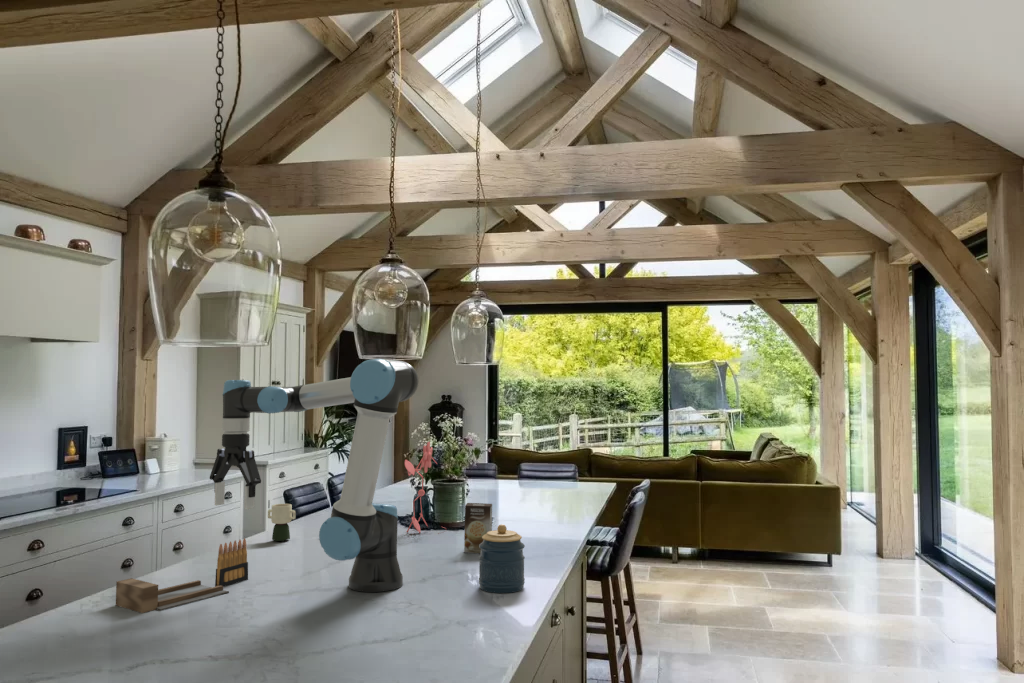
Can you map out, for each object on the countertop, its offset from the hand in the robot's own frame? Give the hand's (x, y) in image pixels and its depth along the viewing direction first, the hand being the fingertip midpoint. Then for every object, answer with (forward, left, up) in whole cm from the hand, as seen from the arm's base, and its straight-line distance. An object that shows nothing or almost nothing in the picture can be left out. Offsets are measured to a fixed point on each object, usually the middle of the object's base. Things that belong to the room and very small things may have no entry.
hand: (234, 506), depth 217 cm
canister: (-67, -39, -22) cm, 81 cm away
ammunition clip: (0, 0, -22) cm, 22 cm away
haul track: (0, +19, -22) cm, 29 cm away
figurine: (+4, -93, -22) cm, 95 cm away
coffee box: (-34, -74, -22) cm, 84 cm away
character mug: (+36, -48, -22) cm, 63 cm away
